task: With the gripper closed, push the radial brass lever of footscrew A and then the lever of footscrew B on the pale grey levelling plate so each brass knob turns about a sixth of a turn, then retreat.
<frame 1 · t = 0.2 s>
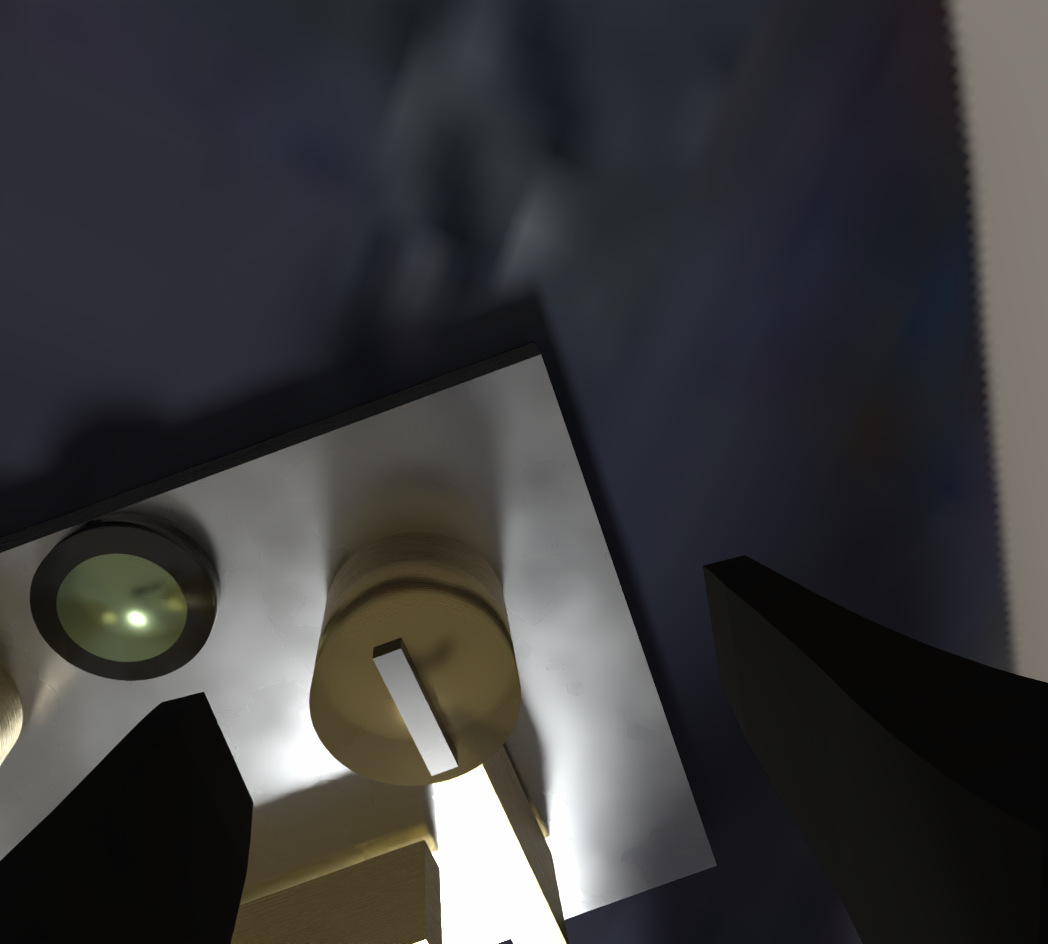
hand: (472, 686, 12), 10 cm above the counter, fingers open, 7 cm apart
knob B: (468, 767, 21), point 4 cm above the counter, hinge at 0.0°
levelling plate: (295, 743, 24), on the counter
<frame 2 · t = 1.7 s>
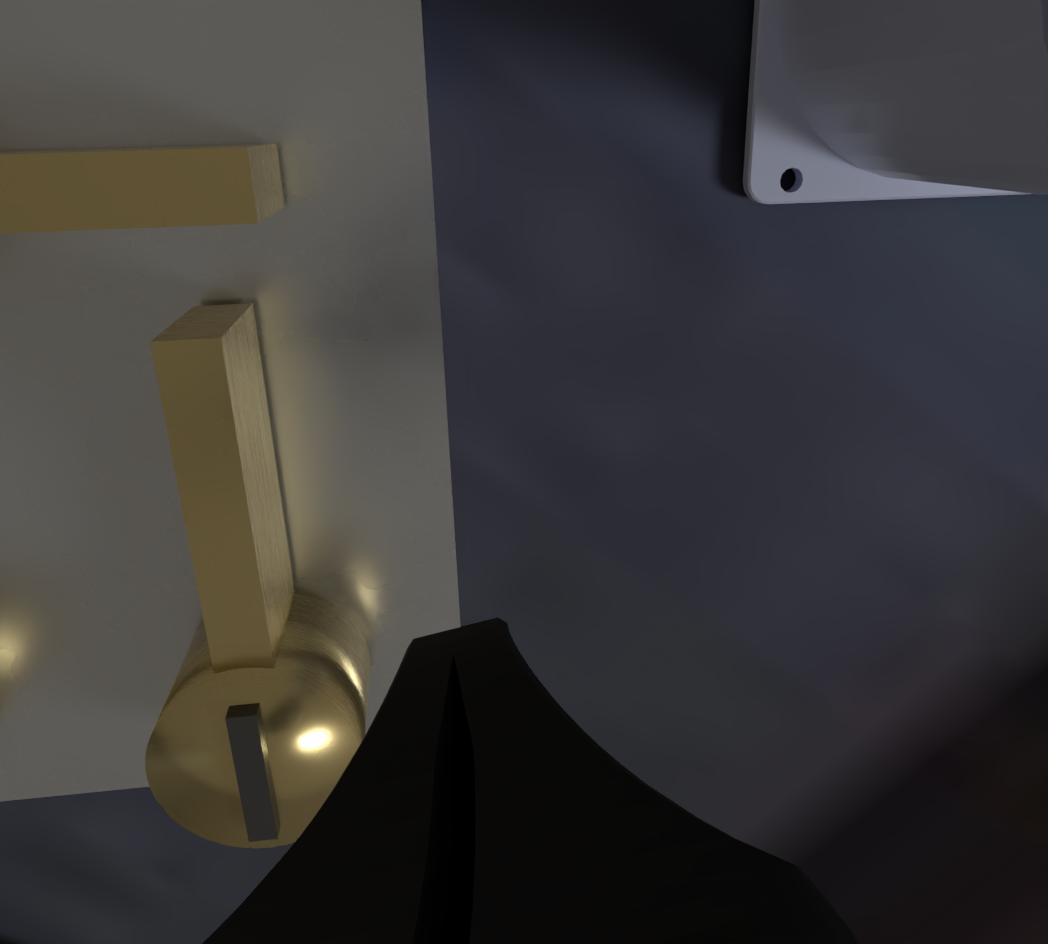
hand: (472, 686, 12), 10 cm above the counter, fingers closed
knob A: (245, 587, 18), point 3 cm above the counter, hinge at 0.0°
levelling plate: (75, 408, 20), on the counter
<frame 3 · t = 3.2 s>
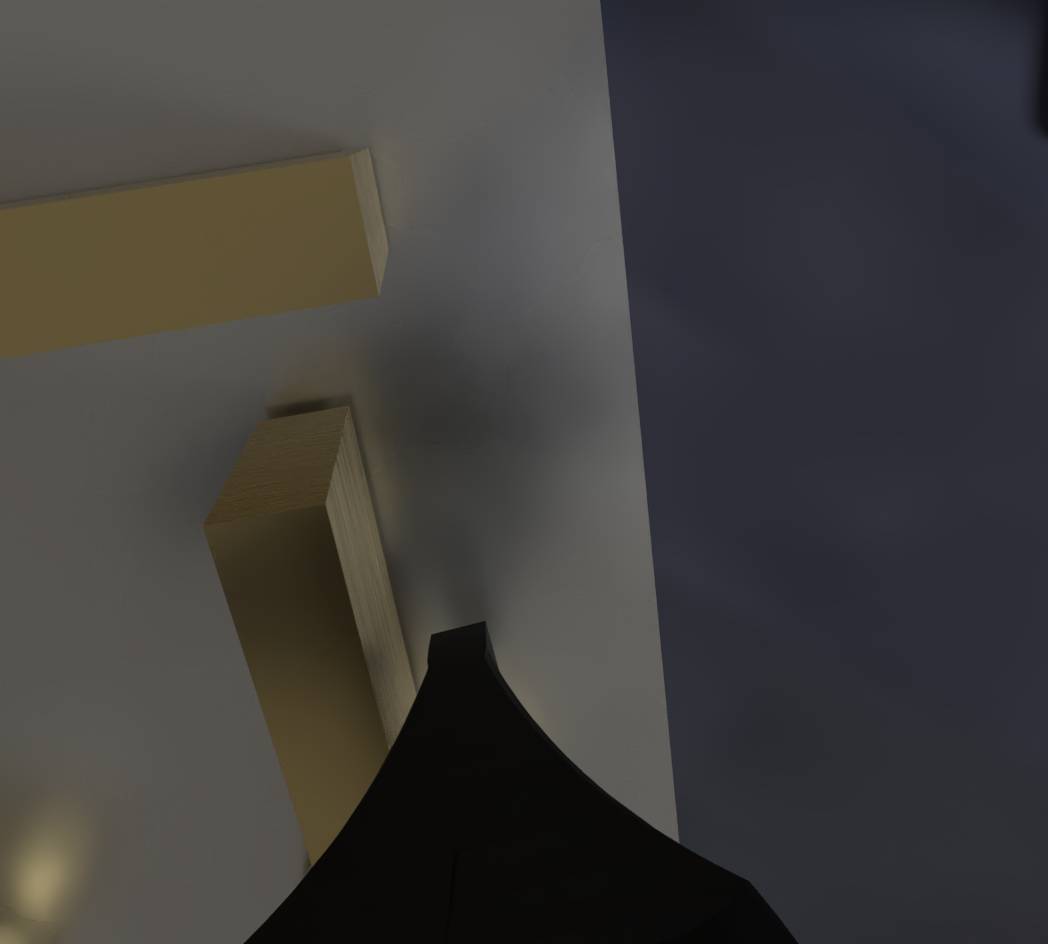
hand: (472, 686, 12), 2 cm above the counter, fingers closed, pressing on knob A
knob A: (385, 846, 12), point 3 cm above the counter, hinge at 0.1°, touching gripper
levelling plate: (99, 576, 13), on the counter
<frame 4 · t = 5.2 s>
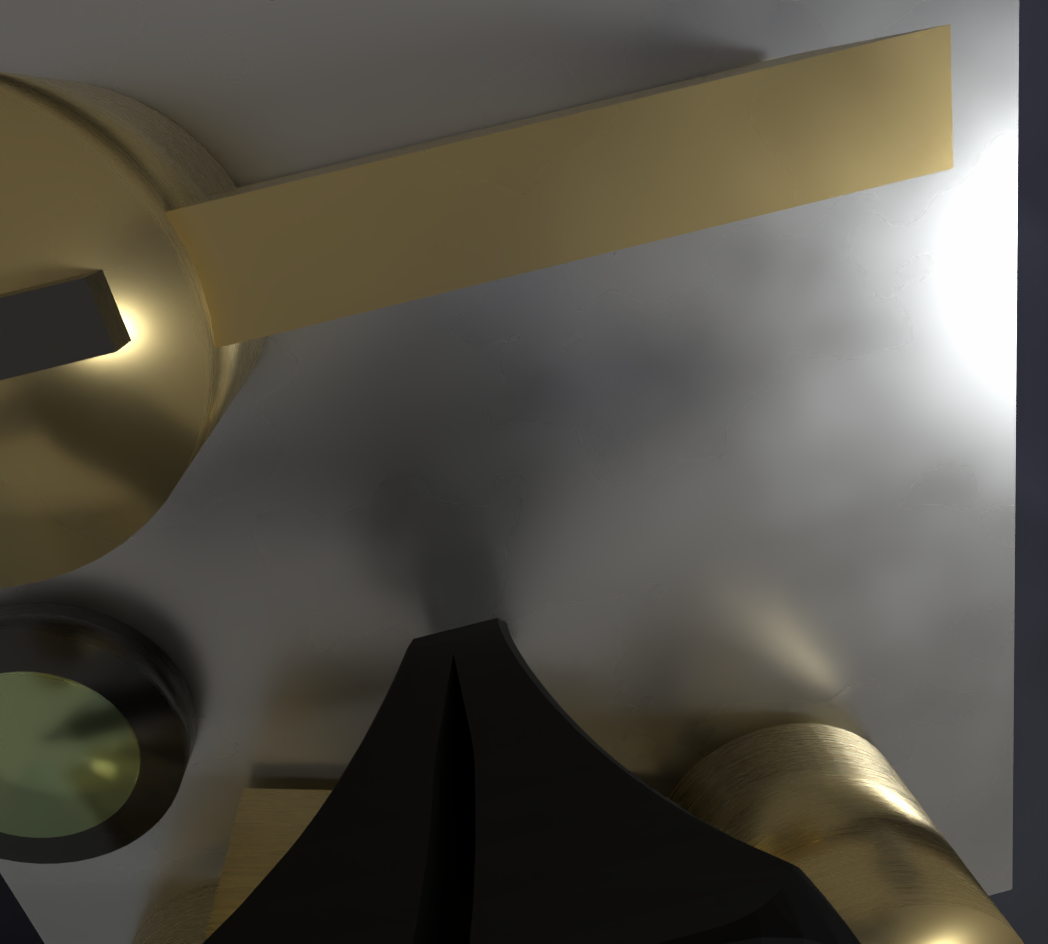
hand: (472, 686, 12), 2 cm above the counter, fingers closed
knob B: (345, 232, 9), point 3 cm above the counter, hinge at 0.0°
knob A: (613, 925, 13), point 3 cm above the counter, hinge at 69.9°
levelling plate: (459, 520, 14), on the counter
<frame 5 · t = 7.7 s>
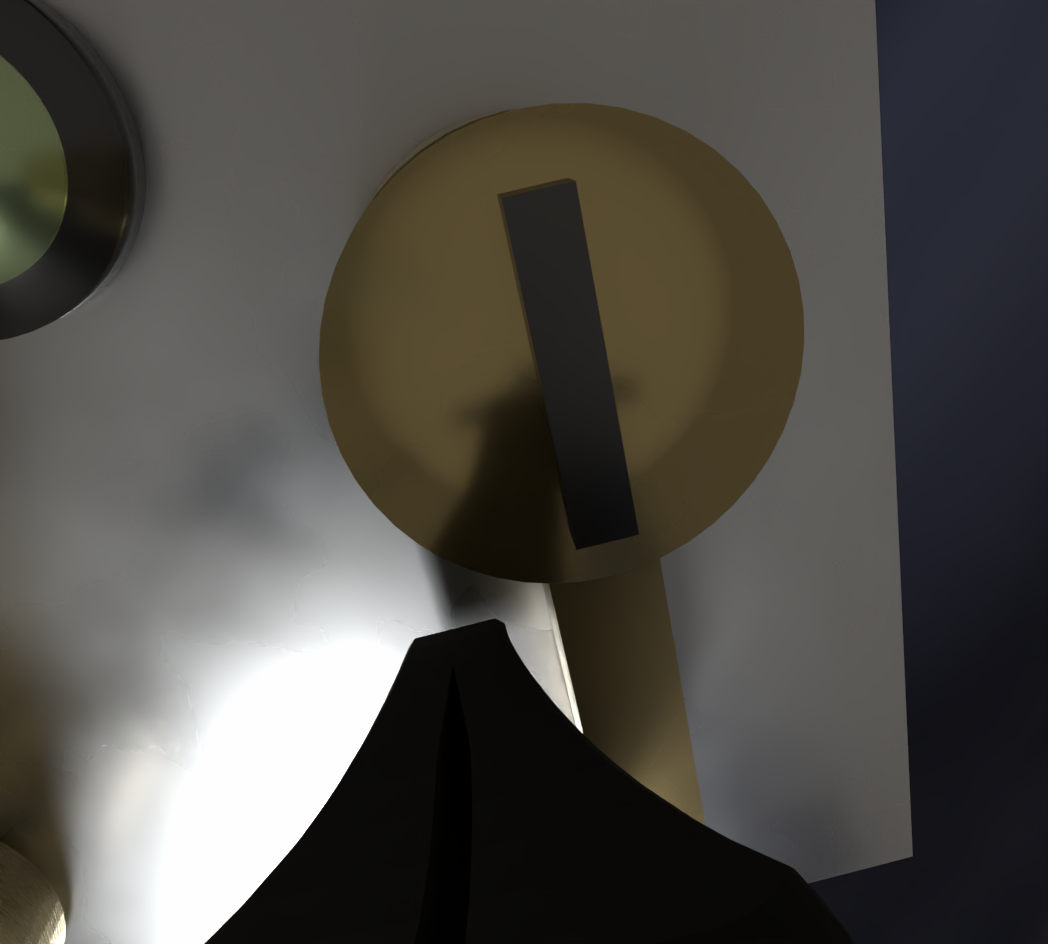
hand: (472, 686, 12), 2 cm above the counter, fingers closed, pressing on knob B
knob B: (599, 596, 11), point 4 cm above the counter, hinge at 0.0°, touching gripper
levelling plate: (252, 566, 14), on the counter
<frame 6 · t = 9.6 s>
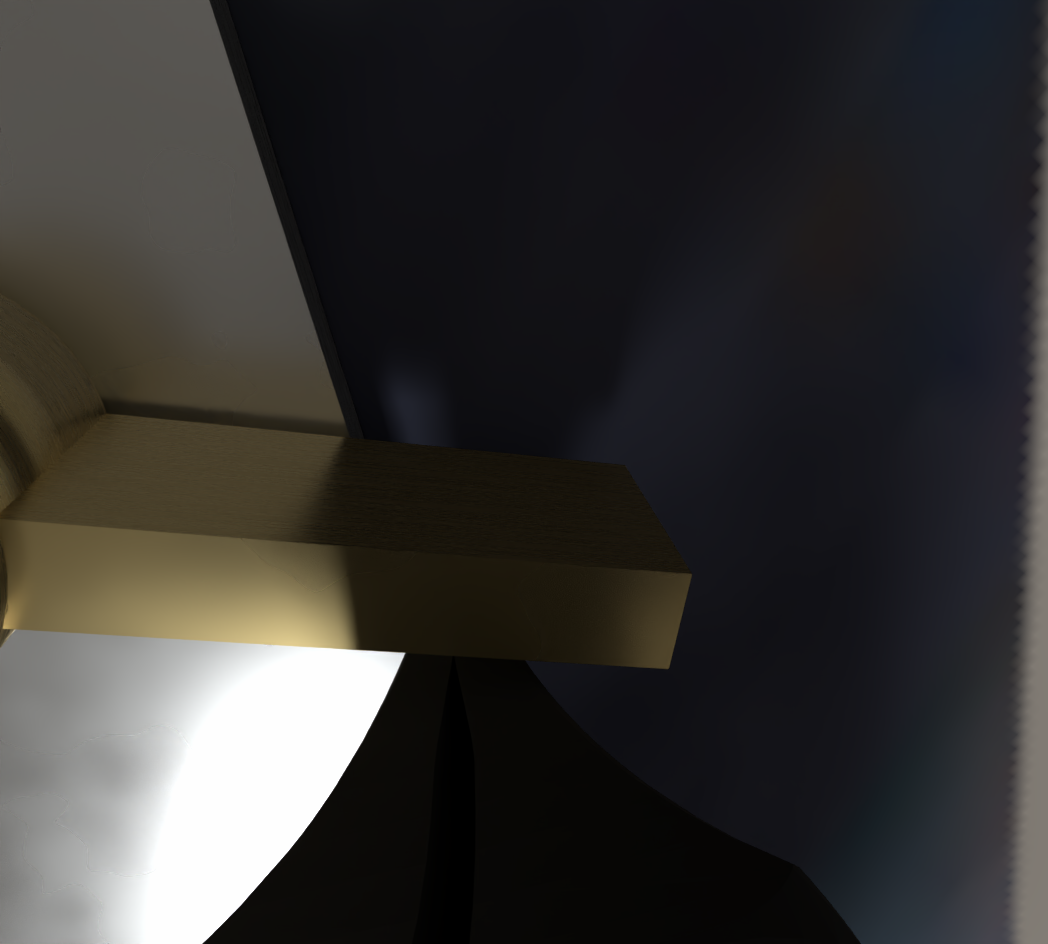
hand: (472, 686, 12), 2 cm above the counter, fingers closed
knob B: (171, 531, 10), point 3 cm above the counter, hinge at 69.0°
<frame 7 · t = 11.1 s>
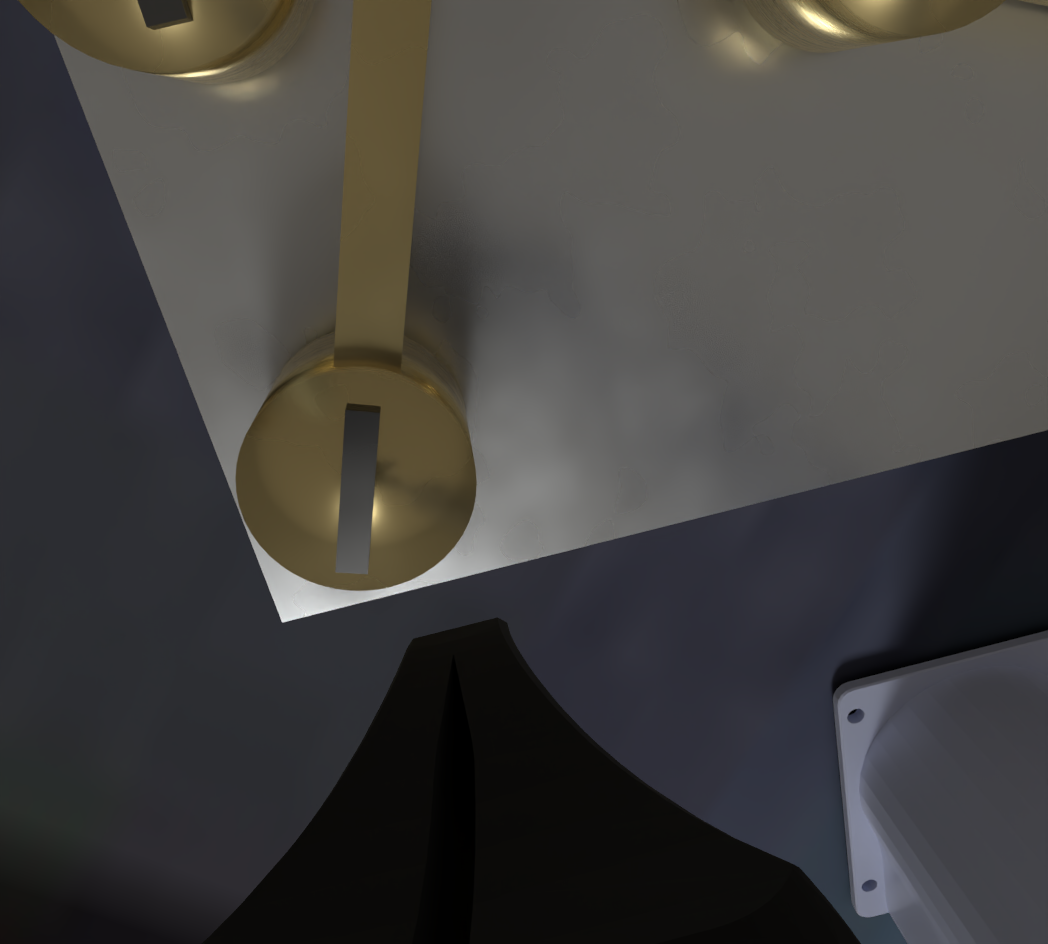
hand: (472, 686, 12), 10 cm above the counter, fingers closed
knob A: (374, 288, 16), point 3 cm above the counter, hinge at 70.0°
levelling plate: (603, 169, 19), on the counter
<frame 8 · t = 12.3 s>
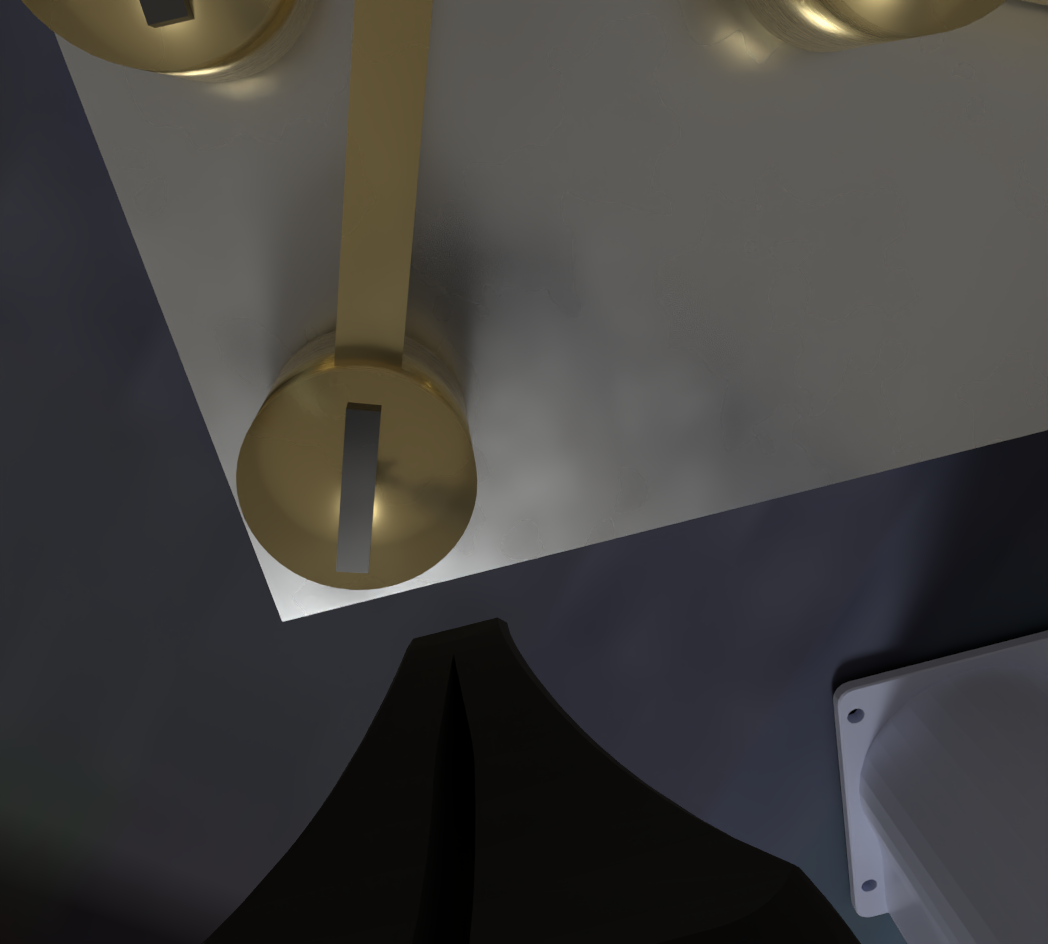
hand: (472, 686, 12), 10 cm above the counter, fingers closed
knob A: (375, 287, 16), point 3 cm above the counter, hinge at 70.0°
levelling plate: (604, 169, 19), on the counter
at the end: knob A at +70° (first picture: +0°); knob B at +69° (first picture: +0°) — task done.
